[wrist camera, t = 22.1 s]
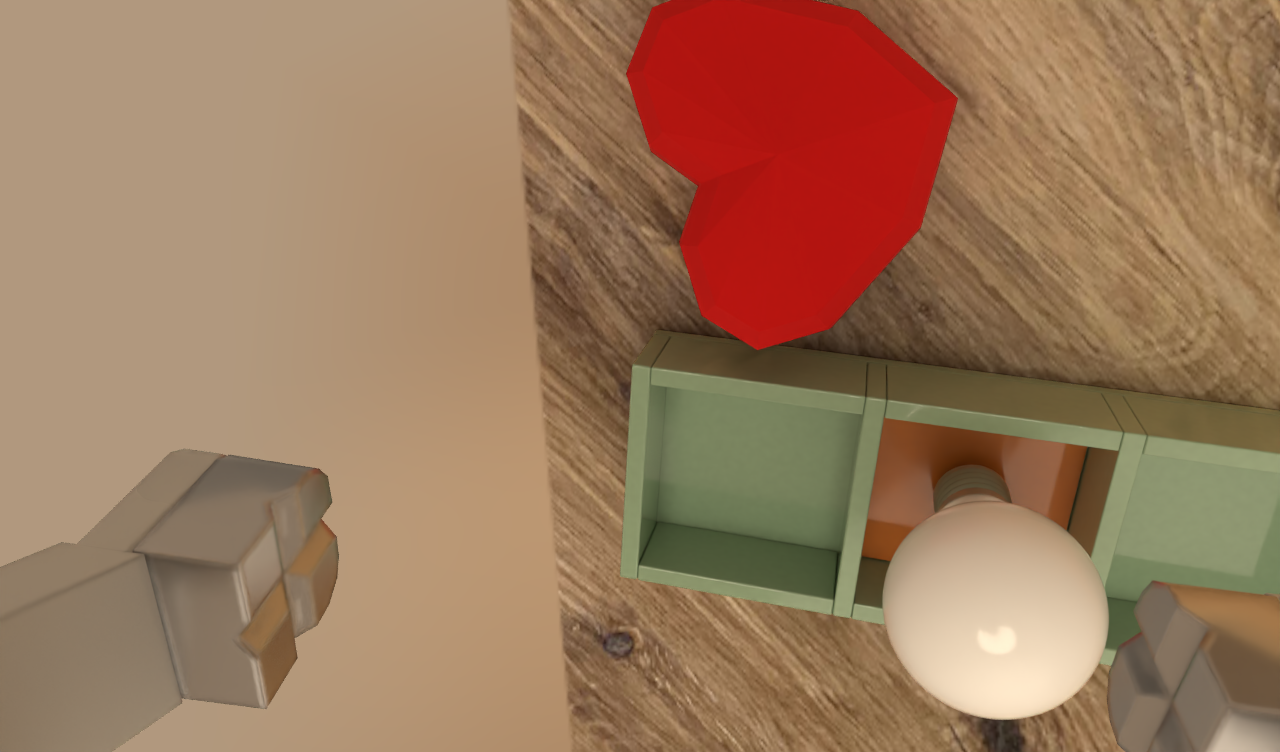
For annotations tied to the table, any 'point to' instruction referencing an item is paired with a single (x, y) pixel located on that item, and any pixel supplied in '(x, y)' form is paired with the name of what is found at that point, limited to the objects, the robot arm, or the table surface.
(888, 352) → the table surface
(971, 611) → the lightbulb
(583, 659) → the table surface
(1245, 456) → the green compartment box
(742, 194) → the heart
